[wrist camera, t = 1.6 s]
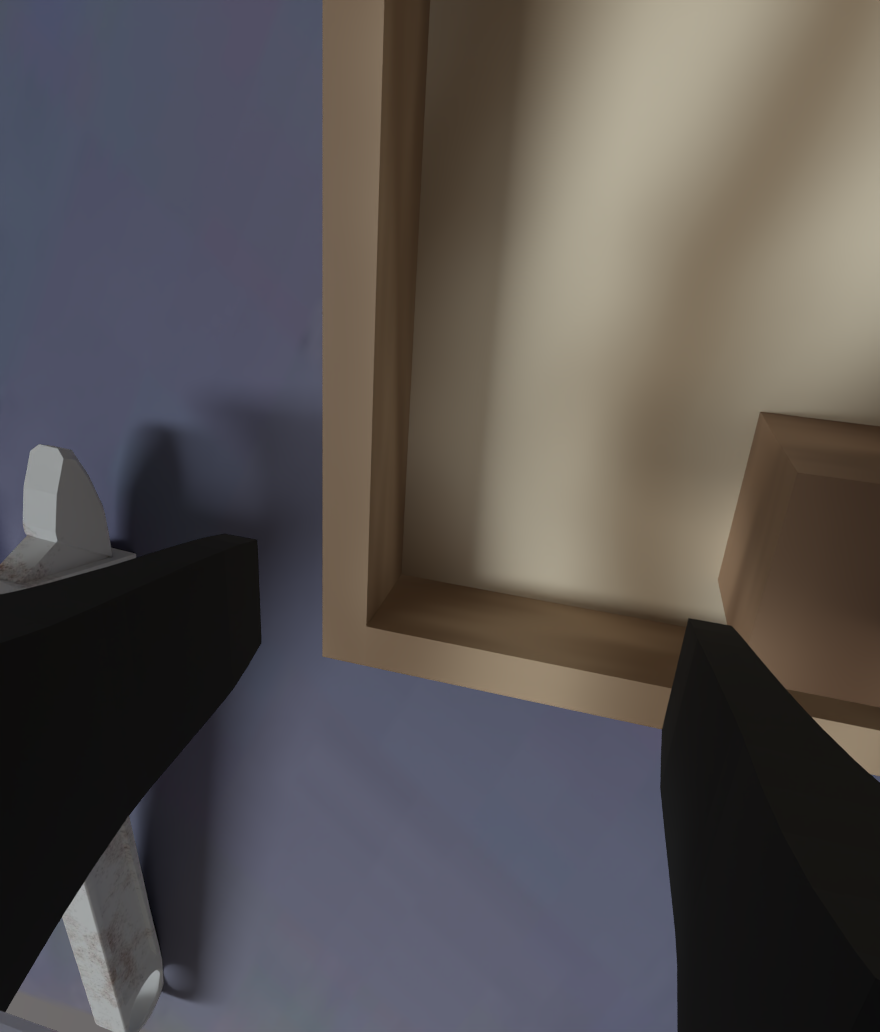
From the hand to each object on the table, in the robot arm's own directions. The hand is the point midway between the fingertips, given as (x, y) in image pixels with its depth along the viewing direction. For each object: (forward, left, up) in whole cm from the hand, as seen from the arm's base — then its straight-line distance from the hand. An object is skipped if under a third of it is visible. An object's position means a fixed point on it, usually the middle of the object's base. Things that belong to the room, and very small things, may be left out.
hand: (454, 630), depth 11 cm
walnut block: (-8, 0, -8) cm, 11 cm away
